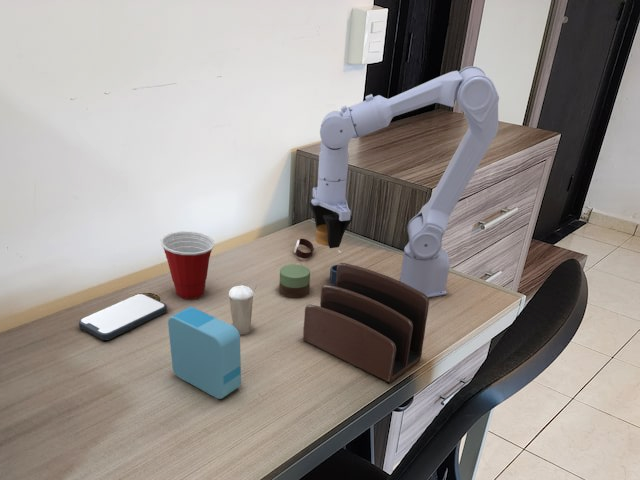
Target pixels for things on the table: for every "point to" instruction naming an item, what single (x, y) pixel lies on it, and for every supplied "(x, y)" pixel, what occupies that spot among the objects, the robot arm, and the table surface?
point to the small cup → (333, 274)
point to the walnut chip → (294, 291)
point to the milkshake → (241, 308)
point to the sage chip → (294, 276)
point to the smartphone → (122, 316)
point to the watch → (305, 243)
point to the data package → (205, 352)
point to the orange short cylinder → (322, 235)
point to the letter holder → (369, 321)
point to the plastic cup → (188, 261)
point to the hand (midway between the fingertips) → (328, 241)
